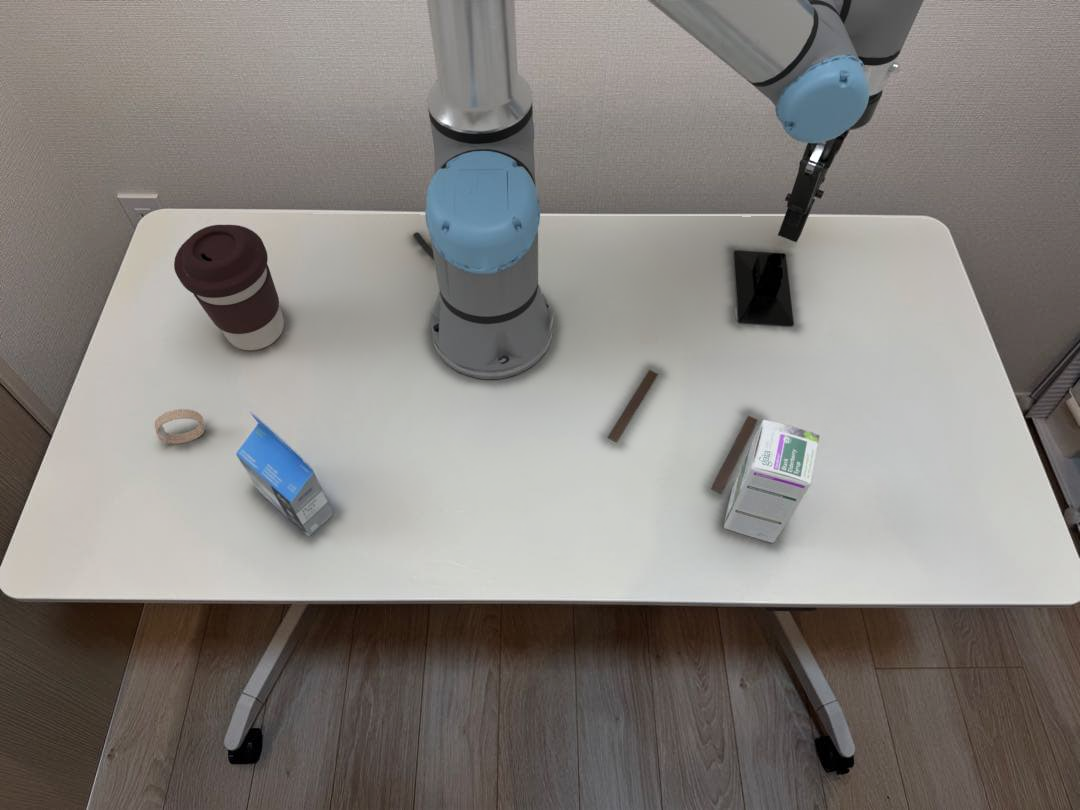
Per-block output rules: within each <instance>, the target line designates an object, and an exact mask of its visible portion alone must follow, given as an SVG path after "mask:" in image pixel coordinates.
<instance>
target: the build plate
mask: <svg viewBox="0 0 1080 810" xmlns="http://www.w3.org/2000/svg"><path fill="white" fill-rule="evenodd" d="M733 267H734V268H733V269H734V283H735V284H734V285H735V299H736V300H735V301H736V306H735V309H734V312H735V313H734V316H735V317H734V318H735V320H736V321H737V323H738V324H745V325H758V326H759V325H760V326H774V327H775V326H776V327H788V328H789V327H790V328H792V327H794V324H795V323H794V313H793V305H792V297H791V289H790V288H791V287H790V278H789V270H788V261H787V254H786V253H784V252H772V251H771V252H768V251H756V250H755V251H754V250H753V251H752V250H740V249H739V250H738V249H735V250H733Z"/></svg>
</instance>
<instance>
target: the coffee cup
mask: <svg viewBox="0 0 1080 810" xmlns="http://www.w3.org/2000/svg"><path fill="white" fill-rule="evenodd" d="M268 258H269V257H268V251H267V248H266V246H265V244H264V242H263V239H262V238H261V236H259V234H258V233H256V232H255V231H254V230H252V229H250V228H249V227H246V226H242V225H238V224H213V225H209V226H208V225H207V226H205V227H203V228H200V229H199V230H197V231H196V232H194V233H193V234H192V235H190V237H189V238H187V239H186V240H185V241H184V242H183V243H182V244H181V246H180V247H179V248H178V250H177V252H176V254H175V256H174V260H173V261H174V262H173V268H174V272H175V275H176V276H177V278H178V280H179V282H180V283H181V285H182V286H183V287H184V288H185V289H186V290H187V291H188V292H190V293H192V294H193V296H194V298H195V299H196V301H197V302H198V303H199V304H200V306H201V308H202V309H203V310H204V312H205V313H206V314H207V316H208V318H210V320H211V321H212V323H213V324H214V325H215V326H216V327H217V328H218V329H219V330H220V331H221V333H222V334H223V335H224V337H225V338H226V340H227V341H228V343H230V344H231V345H232V346H233V347H235V348H237V349H239V350H244V351H257V350H261V349H264V348H267V347H269V346H270V345H272V344H273V343H275V342H276V341H277V340H278V339H279V338H280V336H281V335H282V333H283V330H284V327H285V320H284V319H285V318H284V316H283V311H282V309H281V307H280V298H279V294H278V292H277V289H276V285H275V282H274V279H273V276H272V273H271V270H270V267H269V265H268V260H269V259H268Z"/></svg>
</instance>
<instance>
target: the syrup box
mask: <svg viewBox="0 0 1080 810" xmlns="http://www.w3.org/2000/svg"><path fill="white" fill-rule="evenodd" d="M820 438H821V435H820V434H818V433H814V432H812V431H808V430H804V429H802V428H799V427H796V426H792V425H788V424H785V423H780V422H776V421H772V420H767V419H763V420H762V421H761V424H760V426H759V428H758V429H757V432H756V433H755V436H754V438H753V440H752V443H751V445H750V447H749V449H748V451H747V454H746V456H745V458H744V461H743V462H742V465H741V467H740V469H739V471H738V473H737V476H736V478H735V480H734V482H733V484H732V486H731V487H732V488H731V491H730V496H729V500H728V505H727V510H726V513H725V519H724V521H723V526H722V527H723V529H726V530H728V531H732V532H734V533H737V534H741V535H745V536H747V537H751V538H753V539H757V540H761V541H764V542H768V543H771V544H773V543H775V542H776V540H777V538H778V537H779V536H780V534H781V533H782V531H783V529H784V528H785V526H786V525H787V524H788V522H789V520H790V519H791V517H792V515H793V514H794V512H795V511H796V510H797V507H798V506H799V504H800V503H801V502H802V500H803V498H804V496H805V495H806V494H807V492H808V490H809V489H810V487H811V486H812V482H813V476H814V470H815V465H816V461H817V460H816V459H817V454H818V448H819V442H820Z"/></svg>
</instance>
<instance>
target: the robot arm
mask: <svg viewBox="0 0 1080 810" xmlns="http://www.w3.org/2000/svg"><path fill="white" fill-rule="evenodd" d="M647 1H648V2H649V3H650V4H652V5H653V6H654V7H656V9H658V10H659V11H660V12H661V13H662V14H664V15H665V16H666V17H668V18H669V19H670V20H671V21H673V22H674V23H675V24H676V25H678V26H679V27H680V28H681V29H683V30H684V31H685V32H686V33H687V34H689V35H690V36H691V37H692V38H693V39H695V40H696V41H697V42H699V43H700V44H701V45H703V47H705V48H706V49H707V50H709V51H710V52H711V53H712V54H714V55H715V56H716V57H717V58H719V60H720V61H722V62H723V63H725V64H726V65H727V66H728V67H729V68H731V69H732V70H733V71H734V72H736V74H739V75H740V76H741V77H742V78H743V79H744V80H746V82H748V83H749V84H751V85H752V86H753V87H754V88H755V89H756V90H757V91H759V92H760V93H761V94H762V95H763V96H765V97H766V98H767V99H768V100H770V101H771V103H772V104H773V105H774V107H775V108H774V111H775V116H776V117H777V120H778V121H779V122H780V123H781V125H782V127H783V130H784V131H785V133H786V134H787V135H788V136H789V137H790V138H792V139H793V140H795V141H798V142H801V143H805V144H806V145H805V149H804V152H803V154H802V159H801V160H800V161H799V163H798V164H799V166H798V170H797V174H796V177H795V180H794V185H793V186H792V190H791V192H790V193H789V192H788V193H787V195H786V196H785V198H784V201H785V202H787V203H786V212H785V214H784V217H783V220H782V222H781V225H780V228H779V230H778V233H777V236H779V237H781V238H784V239H785V240H788V241H792V242H794V243H798V241H799V239H800V237H801V235H802V233H803V231H804V228H805V225H806V223H807V220H808V218H809V216H810V213H811V211H812V209H813V206H814V204H815V201H816V198H817V199H819V200H820V199H822V197H823V195H824V193H825V191H823V190H822V189H820V187H821V186H822V184H823V183H825V180H826V175H827V173H828V171H829V169H830V168H831V166H832V164H833V162H834V160H835V157H836V156H837V154H838V153H839V151H840V149H841V148H842V146H843V144H844V141H845V139H846V138H847V137H848V135H849V133H850V131H854V130H857V129H861V128H863V127H864V126H866V125H867V124H868V123H870V121H871V120H872V118H873V117H874V114H875V112H876V110H877V107H878V105H879V102H880V101H881V98H882V97H883V96H882V95H883V93H884V92H883V91H884V89H885V87H886V86H887V83H888V81H889V78H890V76H891V73H892V74H897V73H899V72H900V70H901V64H900V63H899V62H896V61H897V60H898V58H899V56H900V53H901V51H902V49H903V47H904V45H905V43H906V41H907V38H908V37H909V34H910V32H911V29H912V27H913V25H914V24H915V23H914V22H915V21H916V18H917V16H918V14H919V11H920V9H921V7H922V6H923V3H924V1H925V0H647ZM426 5H427V12H428V18H429V26H430V33H431V41H432V48H433V55H434V61H435V68H436V69H435V70H436V75H437V79H436V80H435V82H433V84H432V85H431V87H430V89H429V90H428V93H427V97H426V102H427V110H428V117H429V123H430V131H431V136H432V142H433V143H432V144H433V152H434V169H433V171H434V172H433V173H434V174H433V177H432V178H431V180H430V182H429V185H428V187H427V192H426V199H425V208H424V209H425V210H424V211H425V212H424V214H425V215H424V217H425V224H426V228H427V230H428V235H429V238H430V243H431V246H430V244H429V243H428V242H427V241H426V239H424V238H423V236H422V235H421V234H420V232H419V231H416V232H414V233H413V238H414V239H415V240H416V242H417V243H418V244H419V245H420V247H421V248H422V249H423V250H424V251H425V253H426V254H427V255H428V256H429V257H430V258H431V260H433V262H434V267H435V272H436V279H437V284H438V290H439V291H438V293H437V297H436V300H435V303H434V306H433V310H432V313H431V317H430V333H431V338H432V343H433V346H434V348H435V350H436V352H437V354H438V356H439V357H440V359H441V360H443V362H444V363H445V364H447V366H448V367H450V368H451V369H452V370H455V371H456V372H458V373H460V374H462V375H465V376H468V377H471V378H475V379H481V380H501V379H505V378H509V377H513V376H517V375H519V374H522V373H524V372H525V371H527V370H529V369H530V368H532V367H533V366H534V365H536V364H537V363H538V362H539V361H540V360H541V359H542V358H543V357H544V355H545V354H546V352H547V351H548V350H549V349H548V348H549V347H550V345H551V342H552V337H553V328H554V327H553V326H554V324H553V322H554V316H555V312H553V313H552V310H551V307H550V304H549V302H548V300H547V298H546V297H545V295H544V293H543V292H542V290H541V287H540V285H539V226H540V223H541V205H540V199H539V196H538V192H537V187H536V186H537V185H536V169H535V168H536V167H535V123H534V106H533V93H532V90H531V86H530V84H529V83H528V81H527V79H525V78H524V77H523V76H522V75H521V74H519V73H518V70H519V69H518V48H517V44H518V43H517V25H516V24H517V23H516V19H517V18H516V0H426Z"/></svg>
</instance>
